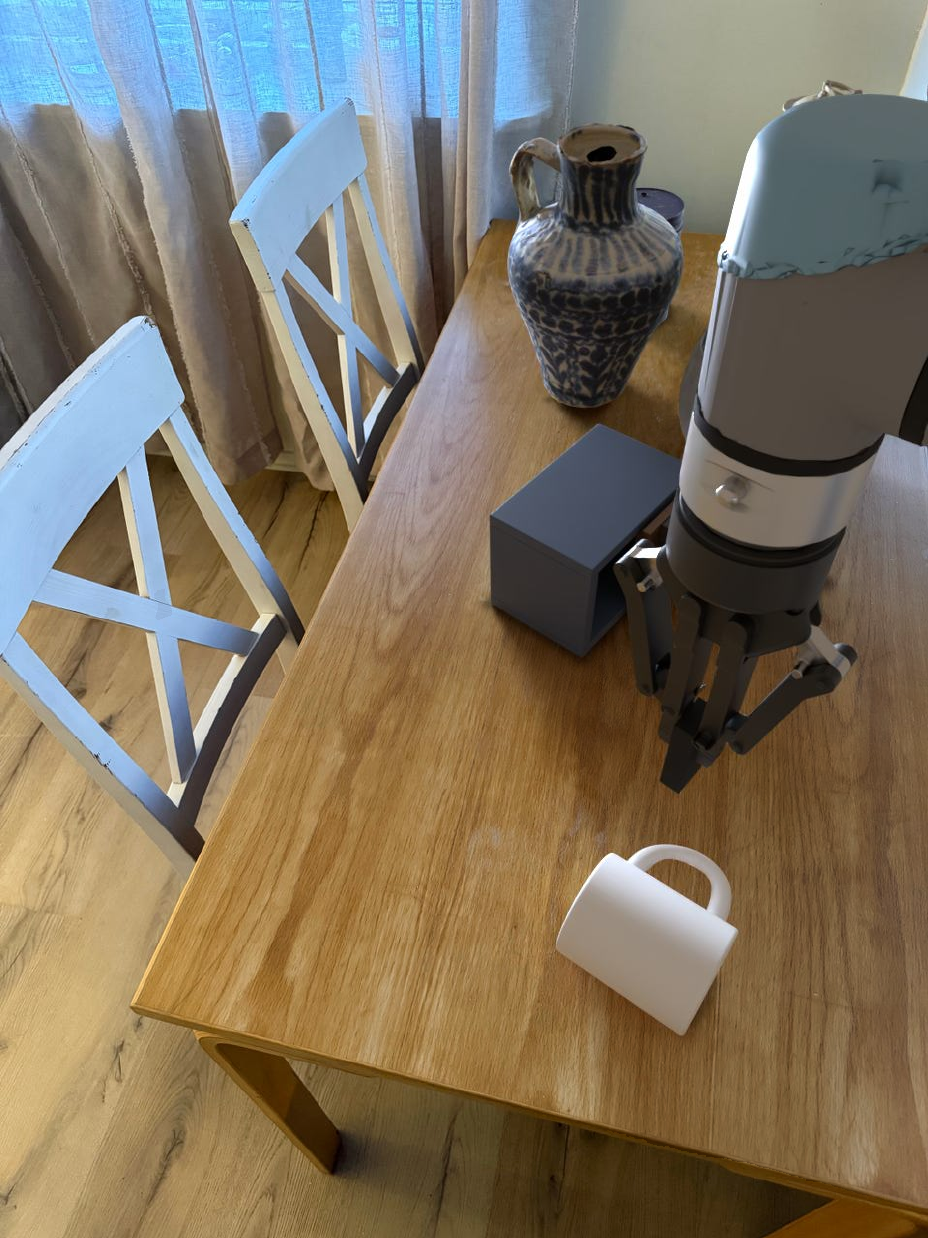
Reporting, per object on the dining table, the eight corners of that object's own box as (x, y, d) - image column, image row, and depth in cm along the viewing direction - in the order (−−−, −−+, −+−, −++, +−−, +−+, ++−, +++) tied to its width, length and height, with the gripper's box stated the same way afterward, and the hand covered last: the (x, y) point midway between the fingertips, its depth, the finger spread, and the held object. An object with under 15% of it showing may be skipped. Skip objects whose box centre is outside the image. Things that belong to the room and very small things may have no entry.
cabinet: (677, 557, 90) (697, 467, 81) (582, 658, 82) (592, 570, 73) (589, 512, 95) (598, 422, 86) (490, 603, 87) (489, 514, 78)
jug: (682, 368, 112) (727, 116, 90) (629, 454, 101) (666, 191, 79) (537, 333, 119) (545, 90, 96) (473, 409, 108) (465, 156, 85)
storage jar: (673, 329, 119) (691, 219, 107) (601, 330, 119) (612, 222, 108) (663, 292, 125) (679, 185, 114) (595, 293, 126) (604, 187, 114)
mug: (675, 1051, 59) (694, 1016, 53) (551, 965, 63) (557, 923, 57) (748, 912, 65) (774, 866, 59) (632, 842, 69) (644, 792, 63)
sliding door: (707, 582, 87) (729, 497, 79) (661, 633, 83) (680, 549, 74) (674, 565, 89) (693, 480, 80) (628, 614, 85) (642, 530, 76)
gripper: (592, 480, 40) (565, 755, 57) (864, 619, 34) (739, 878, 51) (682, 405, 43) (630, 686, 61) (942, 518, 37) (800, 793, 55)
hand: (680, 773), depth 56 cm, fingers closed
